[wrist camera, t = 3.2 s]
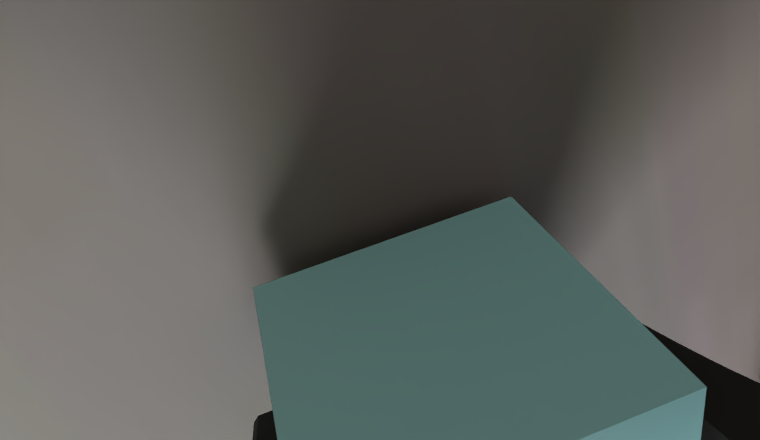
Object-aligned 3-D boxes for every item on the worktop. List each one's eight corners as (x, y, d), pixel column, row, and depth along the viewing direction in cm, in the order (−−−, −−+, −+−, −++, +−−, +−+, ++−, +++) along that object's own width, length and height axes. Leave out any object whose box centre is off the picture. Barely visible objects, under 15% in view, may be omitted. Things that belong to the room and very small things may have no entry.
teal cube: (511, 196, 11) (706, 387, 7) (532, 377, 14) (683, 593, 10) (252, 287, 10) (295, 557, 6) (328, 457, 13) (393, 725, 9)
